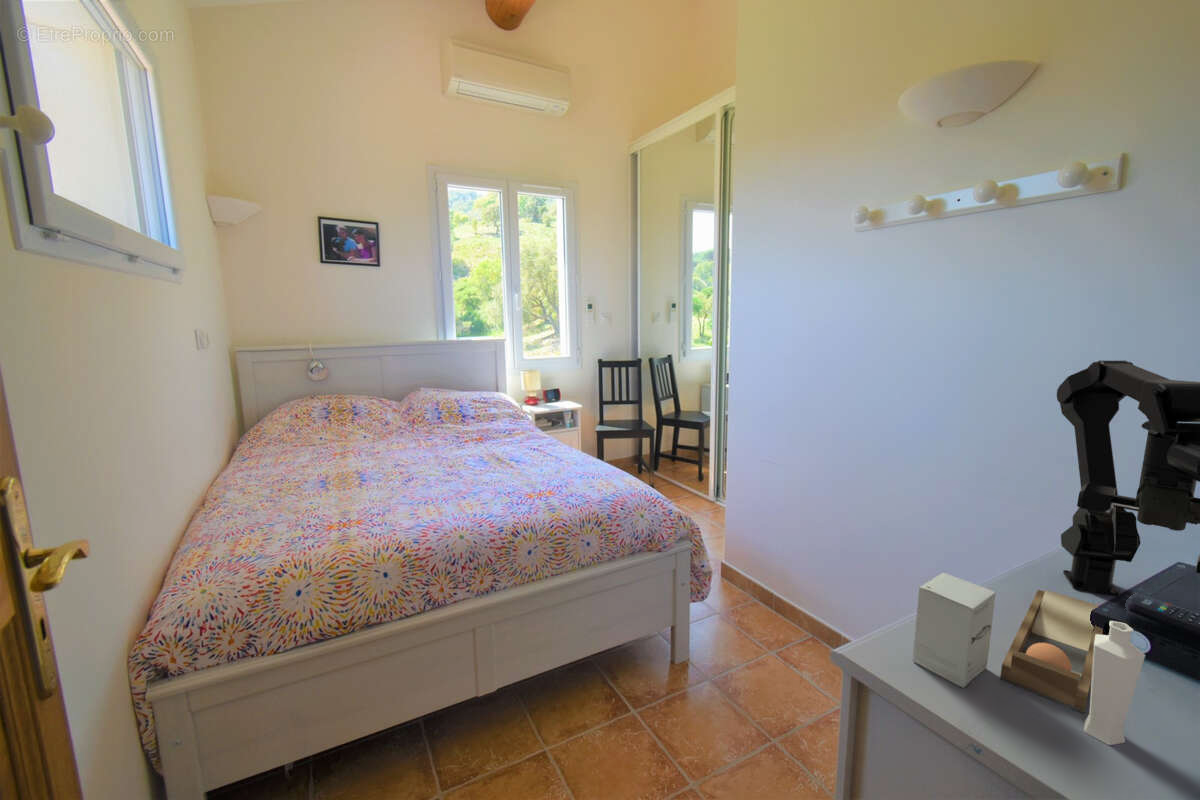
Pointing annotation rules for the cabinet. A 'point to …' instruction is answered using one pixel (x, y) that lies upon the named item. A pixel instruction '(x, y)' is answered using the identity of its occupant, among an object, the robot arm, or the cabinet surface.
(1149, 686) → the cabinet surface
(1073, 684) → the wooden tray
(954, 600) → the supplement box
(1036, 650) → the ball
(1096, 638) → the perfume bottle
